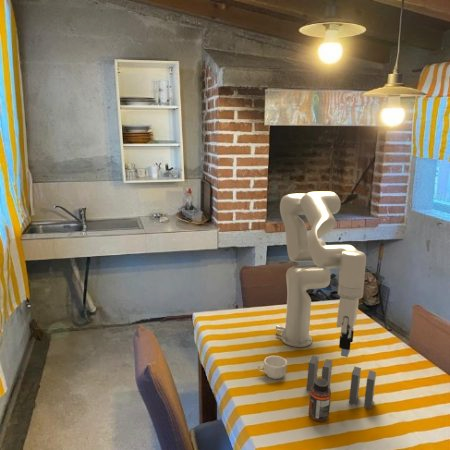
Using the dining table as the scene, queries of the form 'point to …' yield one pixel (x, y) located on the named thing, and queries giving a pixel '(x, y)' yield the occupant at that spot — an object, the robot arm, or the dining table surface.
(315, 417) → the supplement bottle
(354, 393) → the domino
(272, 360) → the teacup
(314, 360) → the domino
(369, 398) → the domino
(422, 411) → the dining table surface
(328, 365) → the domino
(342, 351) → the domino
